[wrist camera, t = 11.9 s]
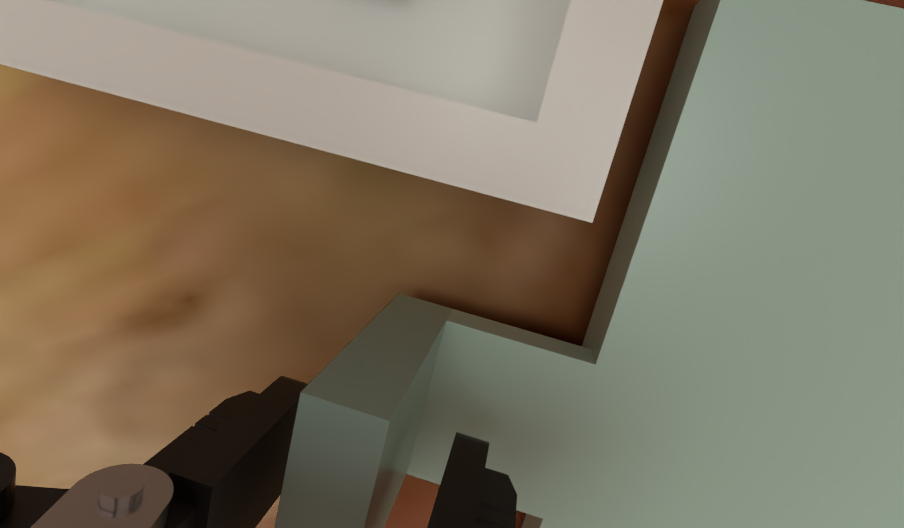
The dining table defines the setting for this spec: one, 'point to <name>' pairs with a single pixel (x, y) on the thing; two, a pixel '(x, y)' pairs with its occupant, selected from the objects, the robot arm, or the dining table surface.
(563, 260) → the dining table surface
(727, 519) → the lid
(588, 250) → the dining table surface
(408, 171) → the parts tub
